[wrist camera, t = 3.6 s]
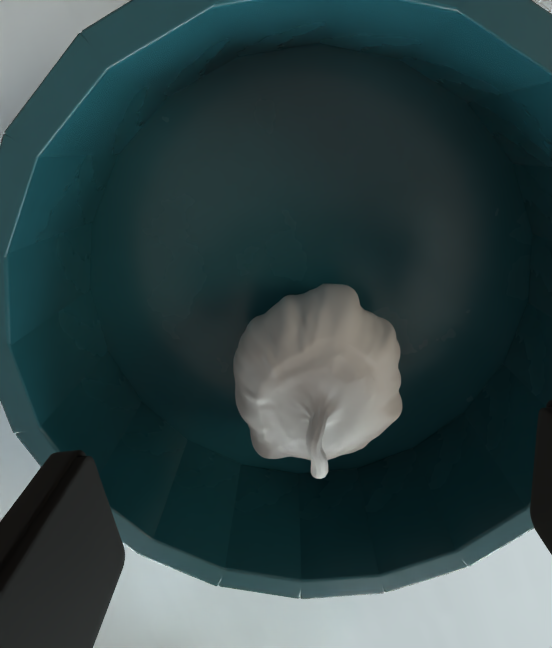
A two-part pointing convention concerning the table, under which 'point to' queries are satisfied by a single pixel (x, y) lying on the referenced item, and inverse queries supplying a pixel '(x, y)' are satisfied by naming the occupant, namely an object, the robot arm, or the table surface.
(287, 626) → the table surface
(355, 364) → the garlic
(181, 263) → the pot
